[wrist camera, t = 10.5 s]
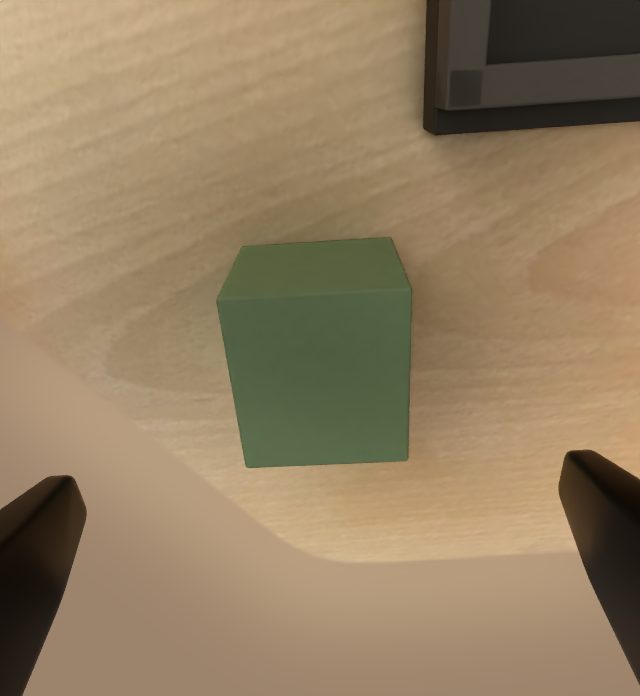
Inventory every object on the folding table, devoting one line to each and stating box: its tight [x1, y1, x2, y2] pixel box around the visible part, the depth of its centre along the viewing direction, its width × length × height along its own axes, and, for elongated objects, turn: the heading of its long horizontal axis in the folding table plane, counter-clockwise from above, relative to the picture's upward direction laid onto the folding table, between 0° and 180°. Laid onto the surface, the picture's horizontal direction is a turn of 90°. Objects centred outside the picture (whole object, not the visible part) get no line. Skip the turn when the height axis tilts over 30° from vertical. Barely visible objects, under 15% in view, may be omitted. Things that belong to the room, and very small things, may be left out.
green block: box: [216, 237, 412, 468], centre depth 14 cm, size 4×5×4 cm
